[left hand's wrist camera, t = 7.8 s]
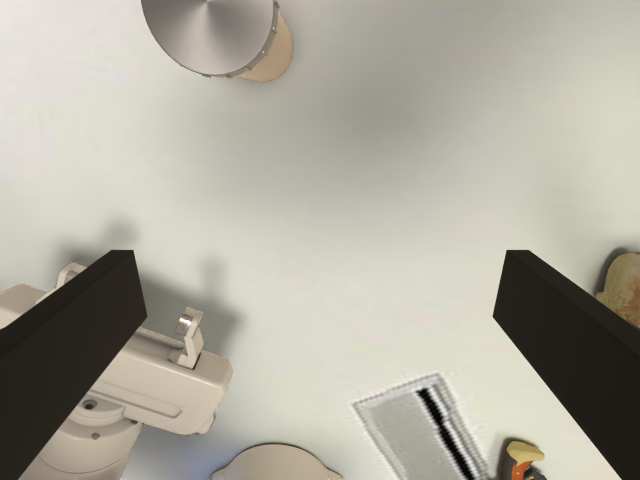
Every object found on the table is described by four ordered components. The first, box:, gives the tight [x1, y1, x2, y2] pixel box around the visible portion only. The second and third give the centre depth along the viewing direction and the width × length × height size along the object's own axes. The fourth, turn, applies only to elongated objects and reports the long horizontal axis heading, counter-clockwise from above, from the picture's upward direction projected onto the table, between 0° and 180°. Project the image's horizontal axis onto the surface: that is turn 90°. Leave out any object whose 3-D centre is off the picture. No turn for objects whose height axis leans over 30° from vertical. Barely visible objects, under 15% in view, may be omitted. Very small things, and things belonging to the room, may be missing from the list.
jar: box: [237, 9, 293, 82], centre depth 24 cm, size 6×6×15 cm
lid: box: [141, 0, 280, 78], centre depth 17 cm, size 6×6×2 cm
